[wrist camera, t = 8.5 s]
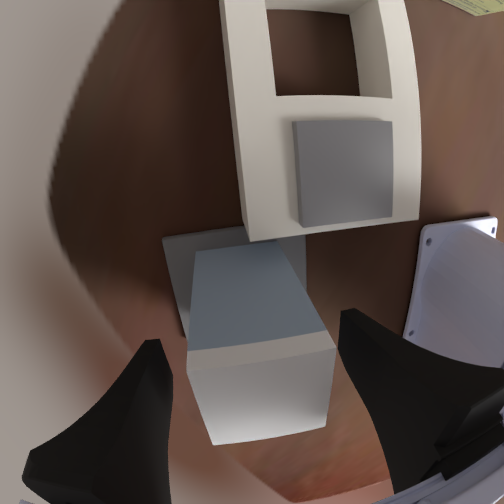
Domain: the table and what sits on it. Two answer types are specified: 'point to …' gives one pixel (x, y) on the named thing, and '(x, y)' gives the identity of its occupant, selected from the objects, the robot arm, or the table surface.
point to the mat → (186, 245)
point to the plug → (256, 346)
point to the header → (324, 126)
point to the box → (478, 6)
